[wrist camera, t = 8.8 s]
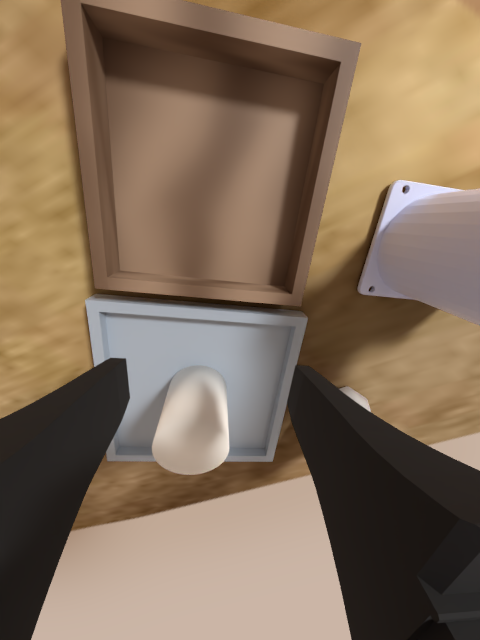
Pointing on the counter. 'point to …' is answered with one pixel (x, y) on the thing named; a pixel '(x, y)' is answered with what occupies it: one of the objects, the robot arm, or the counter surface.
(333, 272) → the counter surface
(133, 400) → the slate tray
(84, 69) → the brown square tray
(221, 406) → the cream cylinder
